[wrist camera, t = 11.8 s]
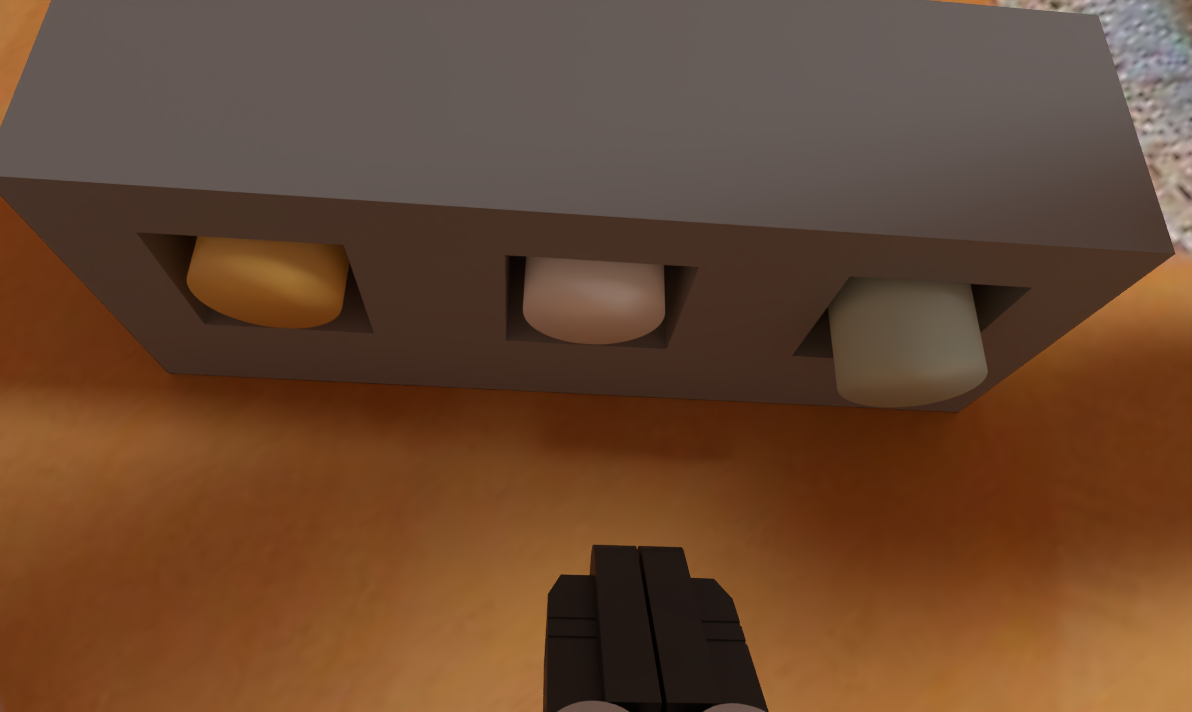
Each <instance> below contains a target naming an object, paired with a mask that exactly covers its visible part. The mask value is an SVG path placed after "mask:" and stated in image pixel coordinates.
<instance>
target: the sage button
mask: <svg viewBox="0 0 1192 712" xmlns="http://www.w3.org/2000/svg"><path fill="white" fill-rule="evenodd" d="M828 313H829V322H830V331H831V340H832V348H833V357H834V366H835V374H836V383H837V390H838V392H839V394H840V395H841V396H842V397H843V398H845V399H847V400H849V401H851V402H854V403H857V404H861V405H866V406H873V407H909V406H918V405H925V404H930V403H935V402H939V401H943V400H947V399H950V398H953V397H956V396H959V395H961V394H964V393H966V392H968V391H970V390H972V389H974V388H975V387H977V386H978V385H979V384H981V383H982V382H983V381H984V379H985V378H986V376H987V373H988V369H987V364H986V359H985V354H984V349H983V344H982V339H981V334H980V329H979V324H978V319H977V314H976V309H975V304H974V299H973V294H972V289H971V284H965V283H949V282H933V281H917V280H901V279H884V278H868V277H852V276H850V277H849V278H848V280H847V281H846V282H845V284H844V285H843V287H842V288H841V289H840V291H839V292H838V293H837V295H836V296H835V298H834V299H833V300H832V302H831V303H830V304H829V306H828Z"/></svg>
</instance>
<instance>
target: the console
mask: <svg viewBox="0 0 1192 712" xmlns="http://www.w3.org/2000/svg"><path fill="white" fill-rule="evenodd" d="M0 195H1V196H2V197H3V198H4V200H5V201H6V202H7V203H8V204H9V205H10V206H11V207H12V208H13V209H14V210H15V211H16V212H17V213H18V214H19V215H20V217H21V218H22V219H23V220H24V221H25V222H26V223H27V224H28V225H29V226H30V227H31V228H32V229H33V230H34V231H35V232H36V234H37V235H38V236H39V237H40V238H41V239H42V240H43V241H44V242H45V243H46V244H47V245H48V246H49V247H50V248H51V249H52V250H53V252H54V253H55V254H56V255H57V256H58V257H59V258H60V259H61V260H62V261H63V262H64V263H65V264H66V265H67V266H68V267H69V269H70V270H71V271H72V272H73V273H74V274H75V275H76V276H77V277H78V278H79V279H80V280H81V281H82V282H83V283H84V284H85V286H86V287H87V288H88V289H89V290H90V291H91V292H92V293H93V294H94V295H95V296H96V297H97V298H98V299H99V300H100V301H101V303H102V304H103V305H104V306H105V307H106V308H107V309H108V310H109V311H110V312H111V313H112V314H113V315H114V316H115V317H116V318H117V319H118V321H119V322H120V323H121V324H122V325H123V326H124V327H125V328H126V329H127V330H128V331H129V332H130V333H131V334H132V335H133V336H134V338H135V339H136V340H137V341H138V342H139V343H140V344H141V345H142V346H143V347H144V348H145V349H146V350H147V351H148V352H149V353H150V355H151V356H152V357H153V358H154V359H155V360H156V361H157V362H158V363H159V364H160V365H161V366H162V367H163V368H164V369H165V370H166V371H167V373H175V374H195V375H215V376H235V377H256V378H276V379H296V380H316V381H337V382H357V383H377V384H397V385H417V386H438V387H458V388H478V389H498V390H519V391H539V392H559V393H579V394H600V395H620V396H640V397H660V398H680V399H701V400H721V401H741V402H761V403H782V404H802V405H822V406H842V407H862V408H883V409H903V410H923V411H943V412H960V411H961V410H962V409H964V408H965V407H966V406H968V405H969V404H971V403H972V402H973V401H975V400H976V399H977V398H979V397H980V396H981V395H983V394H984V393H986V392H987V391H988V390H990V389H991V388H992V387H994V386H995V385H997V384H998V383H999V382H1001V381H1002V380H1003V379H1005V378H1006V377H1007V376H1009V375H1010V374H1012V373H1013V372H1014V371H1016V370H1017V369H1018V368H1020V367H1021V366H1023V365H1024V364H1025V363H1027V362H1028V361H1029V360H1031V359H1032V358H1033V357H1035V356H1036V355H1038V354H1039V353H1040V352H1042V351H1043V350H1044V349H1046V348H1047V347H1049V346H1050V345H1051V344H1053V343H1054V342H1055V341H1057V340H1058V339H1059V338H1061V337H1062V336H1064V335H1065V334H1066V333H1068V332H1069V331H1070V330H1072V329H1073V328H1075V327H1076V326H1077V325H1079V324H1080V323H1081V322H1083V321H1084V320H1085V319H1087V318H1088V317H1090V316H1091V315H1092V314H1094V313H1095V312H1096V311H1098V310H1099V309H1101V308H1102V307H1103V306H1105V305H1106V304H1107V303H1109V302H1110V301H1111V300H1113V299H1114V298H1116V297H1117V296H1118V295H1120V294H1121V293H1122V292H1124V291H1125V290H1127V289H1128V288H1129V287H1131V286H1132V285H1133V284H1135V283H1136V282H1137V281H1139V280H1140V279H1142V278H1143V277H1144V276H1146V275H1147V274H1148V273H1150V272H1151V271H1153V270H1154V269H1155V268H1157V267H1158V266H1159V265H1161V264H1162V263H1163V262H1165V261H1166V260H1168V259H1169V258H1170V257H1172V256H1173V255H1174V254H1175V251H1174V248H1173V245H1172V242H1171V239H1170V236H1169V233H1168V230H1167V226H1166V223H1165V220H1164V217H1163V214H1162V211H1161V208H1160V205H1159V202H1158V199H1157V196H1156V193H1155V189H1154V186H1153V183H1152V180H1151V177H1150V174H1149V171H1148V168H1147V165H1146V162H1145V159H1144V155H1143V152H1142V149H1141V146H1140V143H1139V140H1138V137H1137V134H1136V131H1135V128H1134V125H1133V121H1132V118H1131V115H1130V112H1129V109H1128V106H1127V103H1126V100H1125V97H1124V94H1123V91H1122V87H1121V84H1120V81H1119V78H1118V75H1117V72H1116V69H1115V66H1114V63H1113V60H1112V57H1111V53H1110V50H1109V47H1108V44H1107V41H1106V38H1105V35H1104V32H1103V29H1102V26H1101V23H1100V20H1099V16H1098V15H1088V14H1076V13H1065V12H1054V11H1042V10H1031V9H1020V8H1009V7H997V6H986V5H975V4H963V3H952V2H941V1H929V0H51V3H50V5H49V8H48V10H47V13H46V15H45V18H44V20H43V23H42V25H41V28H40V30H39V33H38V35H37V38H36V40H35V43H34V45H33V48H32V50H31V53H30V55H29V58H28V60H27V63H26V65H25V68H24V70H23V73H22V75H21V78H20V80H19V83H18V85H17V88H16V90H15V93H14V95H13V98H12V100H11V103H10V105H9V108H8V110H7V113H6V115H5V118H4V120H3V123H2V125H1V128H0ZM197 236H204V237H221V238H237V239H253V240H269V241H285V242H302V243H318V244H334V245H344V247H345V250H346V253H347V256H348V259H349V268H348V274H347V281H346V287H345V293H344V299H343V305H342V310H341V313H340V314H339V315H338V316H337V317H336V318H335V319H334V320H332V321H330V322H328V323H326V324H323V325H320V326H315V327H310V328H296V329H290V328H274V327H267V326H261V325H256V324H252V323H248V322H244V321H241V320H237V319H235V318H232V317H229V316H227V315H224V314H222V313H220V312H218V311H216V310H214V309H212V308H210V307H209V306H207V305H205V304H204V303H203V302H201V301H200V300H199V299H198V298H196V297H195V296H194V294H193V293H192V292H191V291H190V289H189V287H188V285H187V275H188V271H189V267H190V263H191V259H192V255H193V251H194V247H195V243H196V239H197ZM526 256H528V257H544V258H561V259H577V260H593V261H609V262H625V263H642V264H658V265H664V286H665V316H664V319H663V321H662V322H661V324H660V325H659V326H658V327H657V328H656V329H654V330H653V331H651V332H650V333H648V334H646V335H644V336H641V337H639V338H636V339H633V340H629V341H625V342H619V343H612V344H580V343H573V342H568V341H563V340H559V339H556V338H553V337H550V336H547V335H545V334H543V333H541V332H539V331H538V330H536V329H535V328H533V327H532V326H531V325H530V324H529V323H528V322H527V320H526V319H525V317H524V314H523V298H524V282H525V265H526ZM850 276H852V277H868V278H884V279H901V280H917V281H933V282H949V283H965V284H971V289H972V294H973V299H974V304H975V309H976V314H977V319H978V324H979V329H980V334H981V339H982V344H983V349H984V354H985V359H986V364H987V369H988V373H987V376H986V378H985V379H984V381H983V382H982V383H981V384H979V385H978V386H977V387H975V388H974V389H972V390H970V391H968V392H966V393H964V394H961V395H959V396H956V397H953V398H950V399H947V400H943V401H939V402H935V403H930V404H925V405H918V406H909V407H873V406H866V405H861V404H857V403H854V402H851V401H849V400H847V399H845V398H843V397H842V396H841V395H840V394H839V392H838V390H837V383H836V374H835V366H834V357H833V348H832V340H831V331H830V322H829V313H828V306H829V304H830V303H831V302H832V300H833V299H834V298H835V296H836V295H837V293H838V292H839V291H840V289H841V288H842V287H843V285H844V284H845V282H846V281H847V280H848V278H849V277H850Z"/></svg>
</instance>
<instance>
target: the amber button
mask: <svg viewBox="0 0 1192 712" xmlns="http://www.w3.org/2000/svg"><path fill="white" fill-rule="evenodd" d="M348 268H349V259H348V256H347V253H346V250H345V247H344V245H334V244H318V243H302V242H285V241H269V240H253V239H237V238H221V237H204V236H197V239H196V243H195V247H194V251H193V255H192V259H191V263H190V267H189V271H188V275H187V285H188V287H189V289H190V291H191V292H192V293H193V294H194V296H195V297H196V298H198V299H199V300H200V301H201V302H203V303H204V304H205V305H207V306H209V307H210V308H212V309H214V310H216V311H218V312H220V313H222V314H224V315H227V316H229V317H232V318H235V319H237V320H241V321H244V322H248V323H252V324H256V325H261V326H267V327H274V328H290V329H296V328H310V327H315V326H320V325H323V324H326V323H328V322H330V321H332V320H334V319H335V318H336V317H337V316H338V315H339V314H340V313H341V310H342V305H343V299H344V293H345V287H346V281H347V274H348Z"/></svg>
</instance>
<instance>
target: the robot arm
mask: <svg viewBox="0 0 1192 712" xmlns="http://www.w3.org/2000/svg"><path fill="white" fill-rule="evenodd" d="M745 641H746V640H745V637H744V633H743V630H742V627H741V626H740V621H739V618H738V615H737V612H736V608H735V605H734V602H733V599H732V598H731V597H730V596H729V595H728V594H727V592H726V591H725V590H724V589H723V588H722V587H721V586H720V585H719V584H718V583H717V582H716V581H715V580H714V579H706V578H690V574H689V570H688V566H687V562H686V558H685V554H684V550H683V548H682V547H656V546H639V547H638V549H637V548H636V546H618V545H593V546H592V552H591V564H590V575H560V577H559V578H558V580H557V581H556V583H555V584H554V586H553V587H552V589H551V590H550V592H549V593H548V603H547V621H546V639H545V657H544V688H543V712H768V709H767V705H766V702H765V699H764V696H763V693H762V690H761V687H760V683H759V680H758V677H757V674H756V671H755V668H754V665H753V662H752V658H751V655H750V652H749V649H748V646H747V645H746V643H745Z"/></svg>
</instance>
